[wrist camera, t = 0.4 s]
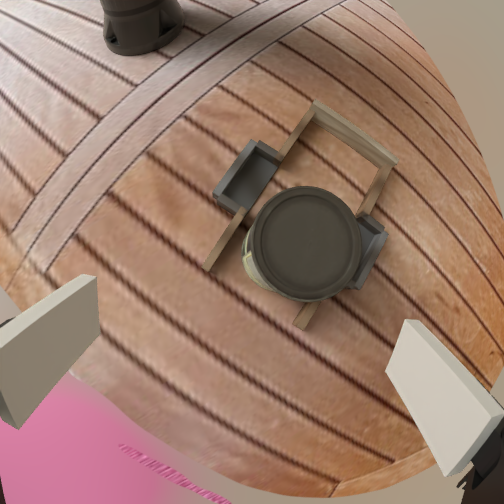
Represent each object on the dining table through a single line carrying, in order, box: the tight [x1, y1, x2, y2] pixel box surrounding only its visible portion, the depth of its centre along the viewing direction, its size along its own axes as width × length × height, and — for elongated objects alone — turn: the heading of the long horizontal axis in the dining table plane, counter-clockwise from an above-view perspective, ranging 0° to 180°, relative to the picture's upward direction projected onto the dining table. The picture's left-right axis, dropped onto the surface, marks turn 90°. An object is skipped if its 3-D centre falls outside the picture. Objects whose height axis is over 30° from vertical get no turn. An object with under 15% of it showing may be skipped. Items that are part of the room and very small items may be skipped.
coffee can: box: [241, 186, 362, 302], centre depth 33 cm, size 10×10×14 cm
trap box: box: [202, 99, 399, 331], centre depth 38 cm, size 28×23×4 cm
